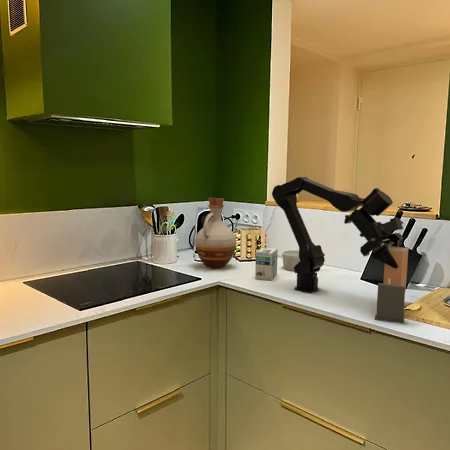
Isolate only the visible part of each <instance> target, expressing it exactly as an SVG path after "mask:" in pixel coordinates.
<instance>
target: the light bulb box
mask: <svg viewBox="0 0 450 450" xmlns="http://www.w3.org/2000/svg"><path fill="white" fill-rule="evenodd" d="M278 251H279V250H278V248H271V247H270V248H269V247H261V248H259V249H258V250H257V251H255V269H254V270H255V274H254V276H255V277H254V278H255V280H262V281H272V280H273V279H274V278H275V277H277V275H278V256H279V255H278V254H279V252H278Z"/></svg>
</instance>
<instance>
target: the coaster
mask: <svg viewBox="0 0 450 450" xmlns="http://www.w3.org/2000/svg"><path fill="white" fill-rule="evenodd" d="M413 303H414V302H411V301H404V308H406V307H407V306H409V305H411V304H413Z"/></svg>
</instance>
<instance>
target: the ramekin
mask: <svg viewBox="0 0 450 450" xmlns="http://www.w3.org/2000/svg"><path fill="white" fill-rule="evenodd" d="M281 256H282V266H283V268H284V270H287V271H291V272H295V271H294V266H295V265H297V264H298V263H299V262H300V259H299V249H298V250H297V249H296V250H295V249H292V250H290V249H289V250H283V251H282V252H281Z"/></svg>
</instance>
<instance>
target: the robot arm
mask: <svg viewBox="0 0 450 450" xmlns="http://www.w3.org/2000/svg"><path fill="white" fill-rule="evenodd" d="M302 191H305V192H306V193H309V194H311V195H314V196H316V197H317V198H320V199H323V200H325V201H327V202H328V203H329V204H330V205H331V206H333V207H334V209H336V210H339V212H343V213H345V212H346V213H347V212H351V213H350V214H345V215H344V217H345V218H344V221H343V222H344V224H345V225H346V224H351V223H352V224H353V225H354V226H355V228H356V230H358V231H359V232H360V234H359V237H360V238H364V239H365V240H366V242H365V243H364V244H362V246H360V249H359V251H360V253H361V255H362V256H363V257H367V256H369V257H370V258H373V259H375V260H378V261H379V262H382V263H384V265H385V264H387V265H389V266H391V267H393V268H395V269H396V268H398V265H397V263H396V261H395V260H394V258H393V257H392V255H391V254H390V252H389V250H388V248H389V247H390V246H394V247H400V243H401V241H402V240H403V239H404V237H403V235H402V234H401V233H400V232H396V231H401V230H403V229H404V225H403V224H404V221H402V220H401V218H398V217H393V218H389V221H387V222H383V223H382V222H381V221H376V220H375V219H374V217H373V216H375V217H376V216H377V217H379V216H381V214H382V213H383V212H385V211H386V210H387V209H388V208H389V207H390V206H391V205H393V204H394V202H393V200H392V198H391V196H389V194H386V193H385V192H383V191H382V190H381V189H380V188H377V187H375V188H373V189H372V191H371V192H370V193H369V194H368V195H367V196H366V197H364V198H363V197H360V196H359V195H358V194H356V193H353V192H349V191H342V190H338V189H337V190H336V189H333V188H332V187H329V186H326V185H324V184H322V183H319V182H317V181H315V180H312V179H309V178H308V176H307V177H306V176H298V177H296V178H294V179H291V180H290V181H288V182H284V183H283V184H277V185H274V187H273V189H272V192H271V197H272V198H273V200H274V201H275V203H276V205H277V206H278V207H279V208H280V209H281V210H282V211H283V212H284V215H285V216H286V219H287V222H288V223H289V226H290V229H291V232H292V233H293V236H294V238H295V241H296V243H297V245H298V250H299V259H300V262H299V263H298V264H297V265H295V266H294V271H293V272H294V274H296V286H295V287H294V288H293V289H294V290H296V291H300V292H306V293H312V292H315V291H317V290H320V288H319V277H318V273H317V272H320V270H321V267H323V266H324V263H325V261H326V259H325V256H326V254H325V253H324V252H323V249H322V246H321V245H320V244H318V245H316V244H315V243H314V242H313V241H312V239H311V236H310V235H309V232H308V230H307V227H306V225H305V222H304V220H303V217H302V215H301V213H300V210H299V208H298V205H297V202H298V196H297V195H298V194H301V192H302ZM359 207H360V208H359ZM370 253H371V254H370Z"/></svg>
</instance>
